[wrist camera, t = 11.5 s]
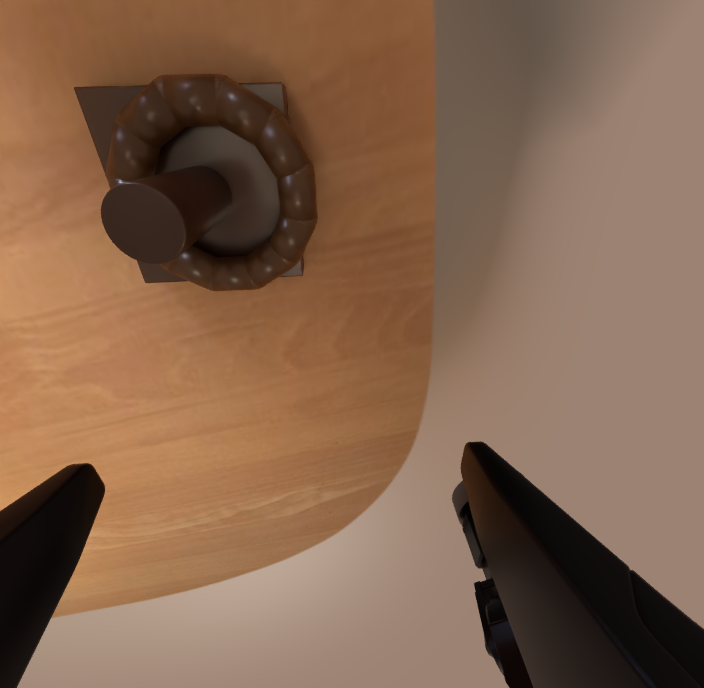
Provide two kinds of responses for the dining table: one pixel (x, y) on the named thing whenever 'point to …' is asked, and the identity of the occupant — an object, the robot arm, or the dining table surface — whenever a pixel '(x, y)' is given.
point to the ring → (246, 122)
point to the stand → (188, 189)
